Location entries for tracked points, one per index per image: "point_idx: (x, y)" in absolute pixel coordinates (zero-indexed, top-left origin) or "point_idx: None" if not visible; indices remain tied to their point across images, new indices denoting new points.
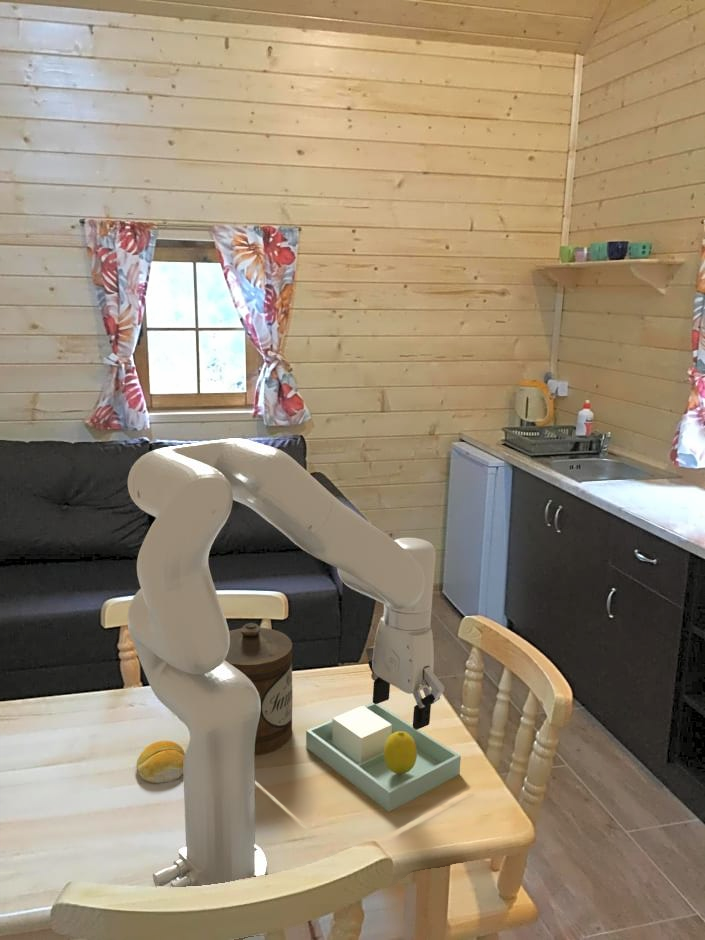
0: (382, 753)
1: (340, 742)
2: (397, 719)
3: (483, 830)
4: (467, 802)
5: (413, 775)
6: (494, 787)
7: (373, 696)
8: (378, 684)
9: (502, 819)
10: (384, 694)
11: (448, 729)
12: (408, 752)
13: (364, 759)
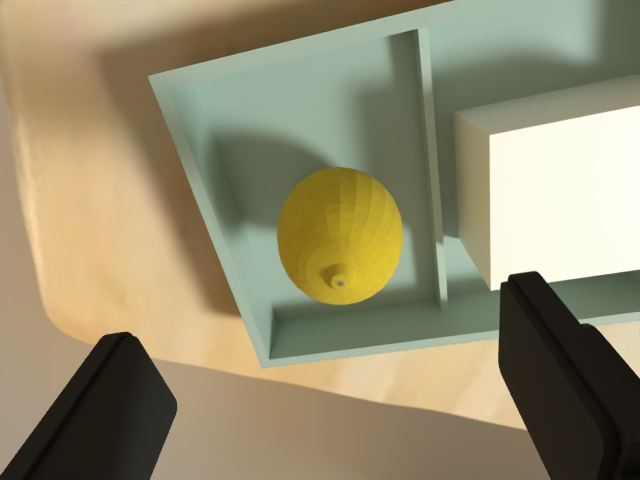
0: (436, 198)
1: (595, 89)
2: None
3: (69, 264)
4: (176, 288)
5: None
6: (209, 360)
7: (556, 304)
8: (593, 437)
9: (99, 316)
10: (521, 378)
11: (452, 395)
12: (279, 249)
13: (456, 131)
